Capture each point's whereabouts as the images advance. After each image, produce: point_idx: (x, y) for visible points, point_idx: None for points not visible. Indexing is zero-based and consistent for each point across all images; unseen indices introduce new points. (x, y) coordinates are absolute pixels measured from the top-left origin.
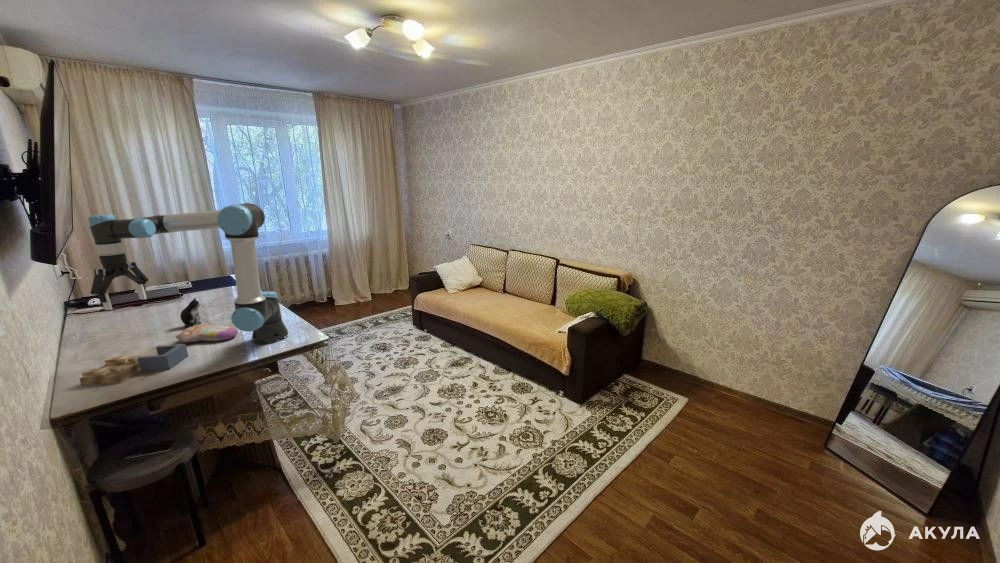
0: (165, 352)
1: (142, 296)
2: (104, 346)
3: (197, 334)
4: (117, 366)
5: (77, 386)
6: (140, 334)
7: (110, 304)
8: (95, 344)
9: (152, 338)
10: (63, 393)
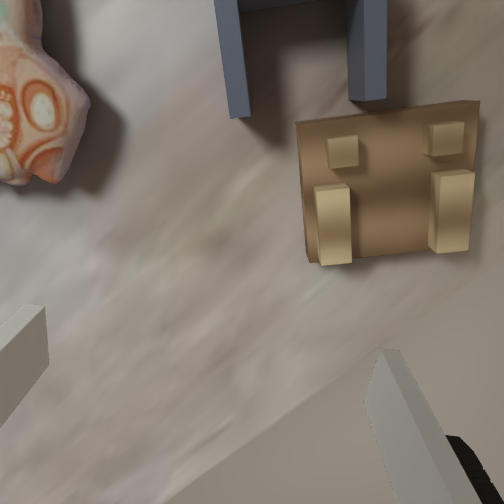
0: (246, 74)
1: (28, 345)
2: (126, 427)
3: (29, 52)
4: (435, 146)
5: None
6: None
7: (407, 387)
8: (112, 464)
9: None
10: (497, 250)
